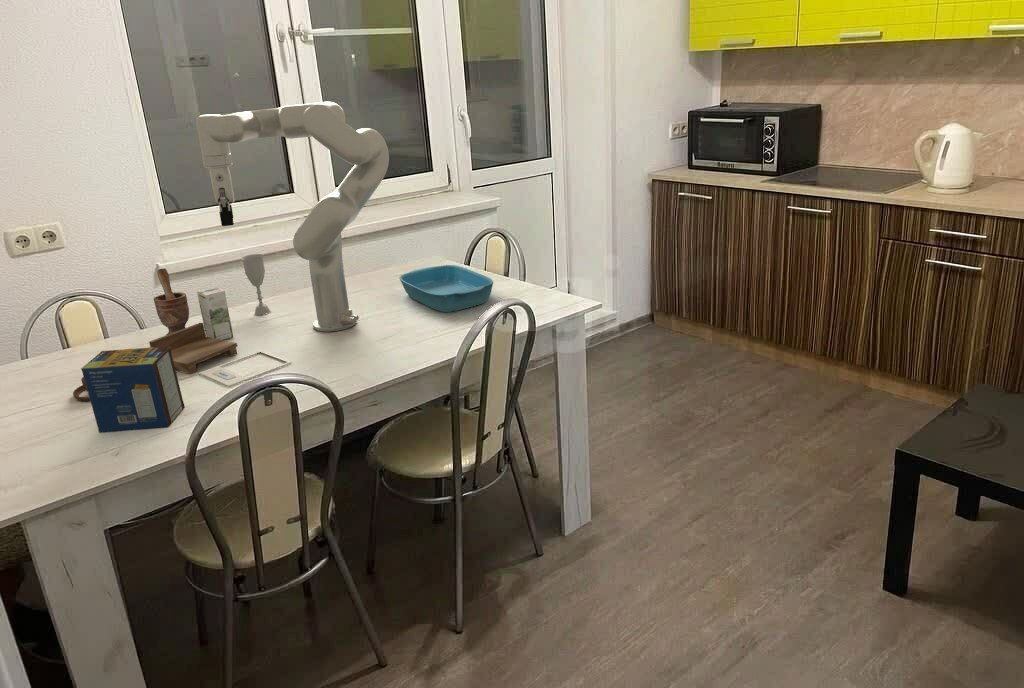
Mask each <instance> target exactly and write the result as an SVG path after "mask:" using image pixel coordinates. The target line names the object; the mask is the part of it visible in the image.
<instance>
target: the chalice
mask: <svg viewBox="0 0 1024 688" xmlns="http://www.w3.org/2000/svg"><path fill="white" fill-rule="evenodd" d="M264 257H265V254H261V253H255V254H254V253H253V254H248V255H245V256H244V255H243V256H242V257H241V258H240V260H241V261H242V263H243V268H244V274H245V276H246V277H247V279H248V281H249V282H250V283H251V285H252V286H253V287H255V288H256V294H257V297H256V299H257V300H258V305H256V306H255V310H254V313H255V314H256V316H262V315H261V314H265V315H267V314H266V313H268V314H270V313H271V312H270V311H271V309H270V307H269V306H268V305H267V304H264V303H263V296H262V290H261V289H260V288H261V287H260V286H262V285H263V283H264V280H265V273H266V269H265V263H264ZM269 312H270V313H269ZM255 314H254V315H255Z"/></svg>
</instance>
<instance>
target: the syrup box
mask: <svg viewBox="0 0 1024 688" xmlns="http://www.w3.org/2000/svg"><path fill="white" fill-rule="evenodd" d="M196 293H197V299H198V303H199V304H198V305H199V308H200V312H201V317H202V321H203V322H202V323H203V325H204V330H205V334H206V337H210V338H215V339H220V340H225V341H227V340H230V339H232V338H234V333H233V327H232V322H231V317H230V312H229V306H228V300H227V296H226V292H225V290H223V289H222V288H219V287H212V288H207V289H204V290H200V291H199V290H198V291H197V292H196ZM226 339H227V340H226Z"/></svg>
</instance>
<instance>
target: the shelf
mask: <svg viewBox="0 0 1024 688" xmlns="http://www.w3.org/2000/svg"><path fill="white" fill-rule="evenodd" d="M167 334H168V333H167ZM148 342H149V346H150V347H161V346H170V349H171V353H172V358H173V362H174V366H175V370H176V372H181V373H185V374H190V375H191V374H194V373H197V372H198V368H197V364H199V363H201V362H204V361H206V360H209V359H211V358H213V357H216V356H218V355H223V356H228V357H233V355H234V356H236V355H238V351H237V347H238V343H237V342H233V341H228V340H220V339H215V338H210V337H206V333H205V328H204V323H203V322H199V323H195V324H193V325H190V326H188V327H185V328H184V329H182V330H179V331H176V332H174V333H171V334H168V335H166V334H165V335H163V336H160V337H158V338H156V339H155V338H154V339H153V340H150V341H148ZM235 354H236V355H235Z"/></svg>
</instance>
